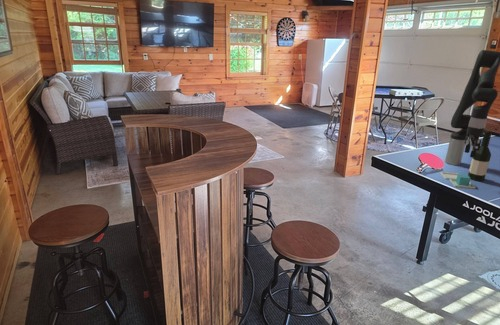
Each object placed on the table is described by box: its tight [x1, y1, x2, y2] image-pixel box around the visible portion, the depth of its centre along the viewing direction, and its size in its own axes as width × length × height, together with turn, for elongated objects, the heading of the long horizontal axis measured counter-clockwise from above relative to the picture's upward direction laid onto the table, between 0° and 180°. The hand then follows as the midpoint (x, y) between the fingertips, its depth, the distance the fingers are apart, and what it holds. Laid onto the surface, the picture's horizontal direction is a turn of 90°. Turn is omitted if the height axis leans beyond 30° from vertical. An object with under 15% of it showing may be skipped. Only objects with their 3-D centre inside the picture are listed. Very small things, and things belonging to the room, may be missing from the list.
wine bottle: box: [467, 129, 492, 182], centre depth 189 cm, size 8×8×30 cm
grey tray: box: [440, 171, 460, 181], centre depth 196 cm, size 10×10×1 cm
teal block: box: [456, 173, 471, 186], centre depth 185 cm, size 5×5×5 cm
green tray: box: [449, 179, 476, 190], centre depth 186 cm, size 10×10×1 cm
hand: (469, 154), depth 180 cm, fingers open, 8 cm apart
